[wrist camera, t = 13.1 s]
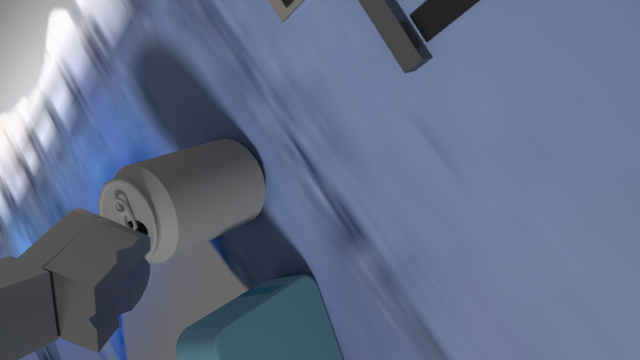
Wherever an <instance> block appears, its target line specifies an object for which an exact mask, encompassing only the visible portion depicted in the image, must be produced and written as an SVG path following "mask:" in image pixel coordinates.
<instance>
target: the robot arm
mask: <svg viewBox="0 0 640 360" xmlns="http://www.w3.org/2000/svg"><path fill="white" fill-rule="evenodd" d="M149 251H150V237H149V236H148V235H146V234H143V233H141V232H139V231H136V230H134V229H131V228H129V227H127V226H124V225H122V224H119V223H117V222H114V221H112V220H110V219H107V218H105V217H102V216H99V215H97V214H94V213H92V212H89V211H87V210H84V209H82V208H77V209H74V210H72V211H70V212H69V213H68V214H67V215H66V216H64V217H63V218H62V219H61V220H60V221H59V222H58V223H57V224H55V225H54V226H53V227H52V228H51V229H50V230H49V231H48V232H46V233H45V234H44V235H43V236H42V237H41V238H40V239H39V240H37V241H36V242H35V243H34V244H33V245H32V246H31V247H30V248H28V249H27V250H26V251H25V252H24V253H23V254H22V255H21V256H20V257H18V258H14V257H12V256H9V257H6V258H2V259H0V360H19V359H21V358H23V357H25V356H27V355H29V354H31V353H33V352H35V351H37V350H39V349H41V348H43V347H45V346H47V345H49V344H51V343H52V342H54V341H56V340H58V337H59V338H62V339H64V340H67V341H70V342H72V343H75V344H77V345H80V346H83V347H85V348H88V349H90V350H93V351H96V352H99V351H100V350H101V349H102V347H103V346H104V345H105V344H106V342H107V341H108V340H109V339H110V337H111V336H112V335H113V334H114V332H115V331H116V330H117V329H118V327H119V315H121V314H123V313H126V312H128V311H131V310H133V308H134V307H135V306H136V304H137V303H138V302H139V300H140V299H141V297H142V295H143V293H144V291H145V289H146V287H147V284H148V280H149V276H150V265H149V263H148V261H147V260H146V258H145V255H146V254H147V253H148V252H149Z"/></svg>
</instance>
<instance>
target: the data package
mask: <svg viewBox="0 0 640 360" xmlns="http://www.w3.org/2000/svg"><path fill="white" fill-rule="evenodd" d="M176 352H177V353H176V354H177V358H178V360H344V359H343V356H342V354H341V351H340V348H339V345H338V342H337V339H336V336H335V334H334V331H333V328H332V325H331V322H330V319H329V316H328V314H327V311H326V308H325V305H324V302H323V299H322V297H321V294H320V291H319V288H318V285H317V283H316V282H315V280H314V279H313V278H312V277H310V276H309V275H306V274H301V275H295V276H288V277H282V278H276V279H270V280H265V281H263V282H262V283H260V284H258V285H257V286H255V287H253V288H252V289H250V290H248V291H247V292H245V293H243V294H242V295H240V296H238V297H237V298H235V299H233V300H232V301H230V302H228V303H227V304H225V305H224V306H222V307H220V308H219V309H217V310H215V311H213V312H212V313H210V314H209V315H207V316H205V317H204V318H202V319H200V320H199V321H197V322H195V323H194V324H192V325H190V326H189V327H187V328H186V329H185V330H184V331H183V332H182V333H181V334H180V336H179V338H178V341H177V346H176Z"/></svg>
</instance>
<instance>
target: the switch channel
mask: <svg viewBox="0 0 640 360" xmlns="http://www.w3.org/2000/svg"><path fill="white" fill-rule="evenodd" d="M304 1H305V0H269V2H270V3H271V5H272V6H273V8H274V10H275V11H276V13H277V15H278V16H279V18H280V19H281V21H282V22H284V21H285V20H286V19H287V18H288V17H289V16H290V15H291V14H292V13H293V12H294V11H295V10H296V9H297V8H298V7H299V6H300V5H301V4H302V3H303V2H304ZM478 1H479V0H429V1H428V2H426V3H425V4H424V5H423V6H422V7H421V8H419V9H418V10H417V11H416V12H415V13H414V14H412V15H411V16H410V17H411V19H412V21H413V22H414V24H415V25H416V27H417V28H418V30H419V31H420V33H421V35H422V36H423V38H424V39H425V41H426V42H428V41H429V40H431V39H432V38H433V37H434V36H436V35H437V34H438V33H439V32H441V31H442V30H443V29H444V28H446V27H447V26H448V25H449V24H451V23H452V22H453V21H454V20H456V19H457V18H458V17H459V16H461V15H462V14H463V13H464V12H466V11H467V10H468V9H469V8H471V7H472V6H473V5H474V4H476V3H477V2H478ZM359 2H360V3H361V5H362V7H363V8H364V10H365V11H366V13H367V14H368V16H369V18H370V19H371V21H372V22H373V24H374V25H375V27H376V29H377V30H378V32H379V33H380V35H381V36H382V38H383V40H384V41H385V43H386V44H387V46H388V48H389V49H390V51H391V52H392V54H393V55H394V57H395V59H396V60H397V62H398V63H399V65H400V66H401V68H402V70H403V71H404V73H408V72H412V71H416V70H417V69H418V68H420V67H421V66H422V65H423V64H425V63H426V62H427V61H429V60H430V59H431V58H432V56H431V54H430V53H429V51H428V50H427V48H426V46H425V45H424V43H423V42H422V40H421V39H420V37H419V36H418V34H417V32H416V31H415V29H414V28H413V26H412V25H411V23H410V22H409V20H408V18H407V17H406V15H405V14H404V12H403V11H402V9H401V8H400V6H399V4H398V3H397V1H396V0H359Z"/></svg>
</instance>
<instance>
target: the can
mask: <svg viewBox="0 0 640 360" xmlns="http://www.w3.org/2000/svg"><path fill="white" fill-rule="evenodd" d="M265 188H266V187H265V181H264V176H263V172H262V170H261V168H260V165H259V163H258V162H257V160H256V159H255V157H254V156H253V155H252V154H251V152H250V151H249V150H248V149H247V148H246V147H244V146H243V145H242V144H240V143H239V142H237V141H233V140H230V139H219V140H215V141H211V142H208V143H204V144H201V145H197V146H194V147H190V148H187V149H183V150H180V151H176V152H173V153H169V154H166V155H162V156H159V157H155V158H152V159H148V160H145V161H141V162H138V163H134V164H131V165H127V166H125V167H123V168H122V169H120V170H119V171H118V172H117V173H116V175H115V177H114V179H111V180H110V181H108V182H107V183H105V185H104V187H103V188H102V190H101V192H100V198H99V203H98V204H99V216H102V217H105V218H107V219H110V220H112V221H114V222H117V223H119V224H122V225H124V226H127V227H129V228H131V229H134V230H136V231H139V232H141V233H143V234H146V235H148V236H149V237H150V251H149V252H148V253H147V254H146V255H145V258H146V260H147V261H148V262H149V263H162V262H164V261H166V260H168V259H171V258H173V257H175V256H177V255H179V254H181V253H183V252H185V251H187V250H190V249H192V248H194V247H196V246H198V245H200V244H203V243H205V242H207V241H209V240H211V239H213V238H215V237H218V236H220V235H222V234H224V233H226V232H228V231H230V230H233V229H235V228H237V227H239V226H241V225H243V224H245V223H248V222H250V221H252V220H254V219H255V218H256V217H257V215H258V214H259V213H260V212H261V210H262V207H263V204H264V202H265Z"/></svg>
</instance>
